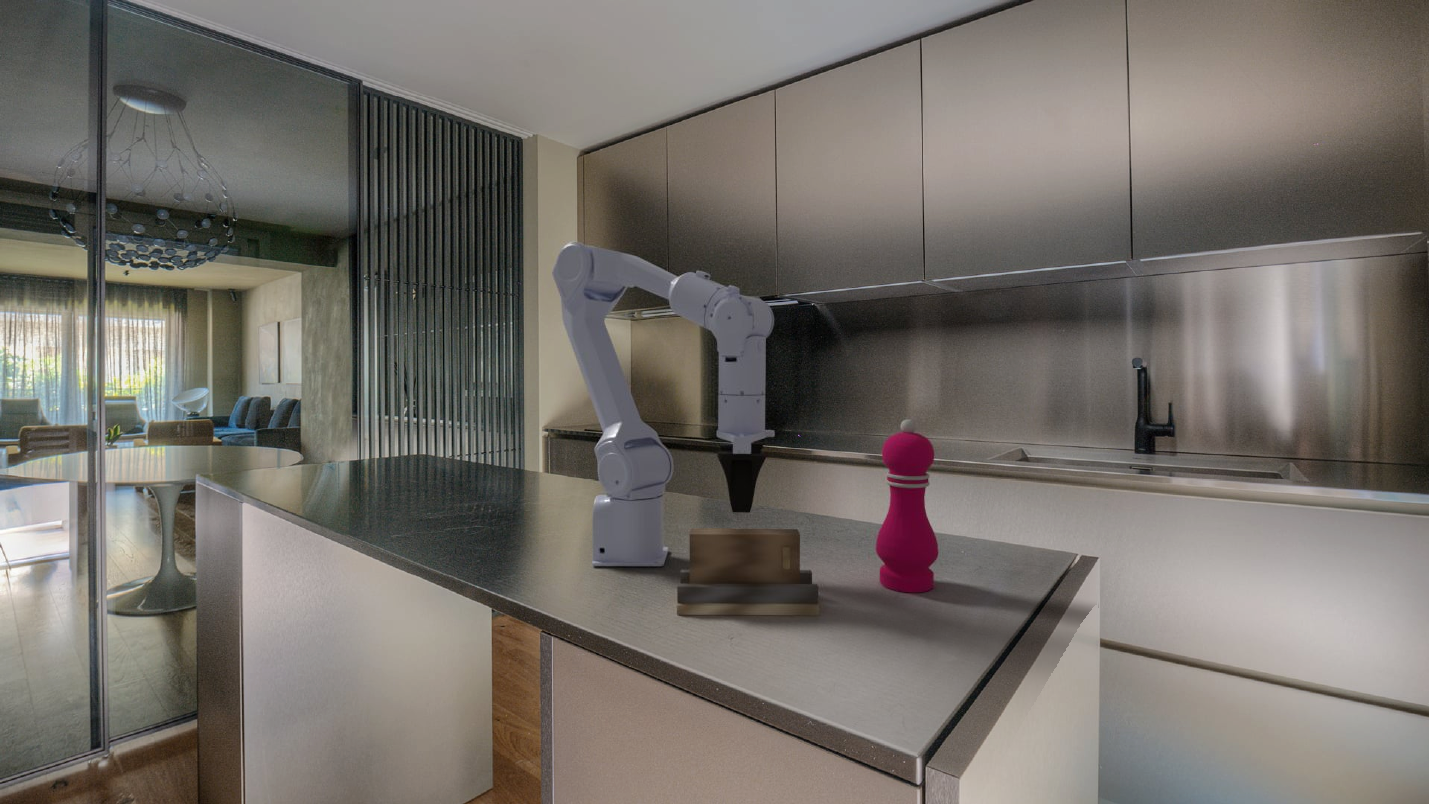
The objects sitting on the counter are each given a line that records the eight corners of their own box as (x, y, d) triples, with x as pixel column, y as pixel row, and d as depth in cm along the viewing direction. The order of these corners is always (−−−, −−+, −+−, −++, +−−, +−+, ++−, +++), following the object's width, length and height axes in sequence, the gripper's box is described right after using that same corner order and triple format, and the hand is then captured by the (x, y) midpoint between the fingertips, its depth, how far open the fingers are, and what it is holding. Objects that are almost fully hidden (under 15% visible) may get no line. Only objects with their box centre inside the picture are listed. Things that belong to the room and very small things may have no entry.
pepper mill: (942, 596, 72) (944, 422, 71) (876, 592, 74) (878, 421, 73) (933, 576, 79) (935, 417, 78) (873, 573, 81) (875, 416, 80)
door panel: (689, 598, 69) (689, 535, 68) (690, 590, 72) (690, 528, 71) (800, 599, 69) (800, 535, 68) (797, 590, 71) (797, 529, 71)
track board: (676, 614, 67) (676, 588, 67) (681, 591, 74) (681, 568, 74) (819, 615, 67) (819, 589, 66) (810, 592, 74) (810, 568, 73)
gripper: (778, 397, 70) (777, 519, 70) (771, 392, 84) (770, 493, 85) (714, 396, 70) (714, 518, 71) (718, 392, 85) (718, 493, 85)
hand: (741, 504), depth 78 cm, fingers open, 7 cm apart
